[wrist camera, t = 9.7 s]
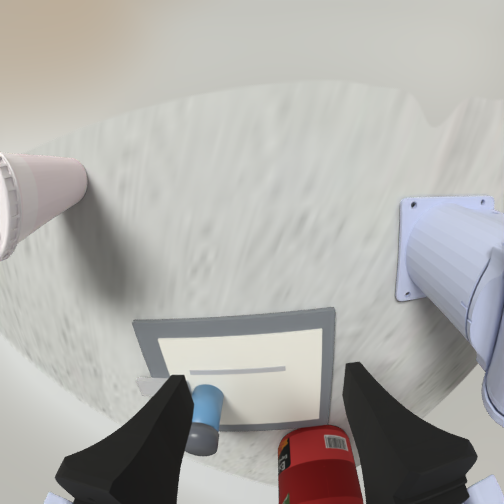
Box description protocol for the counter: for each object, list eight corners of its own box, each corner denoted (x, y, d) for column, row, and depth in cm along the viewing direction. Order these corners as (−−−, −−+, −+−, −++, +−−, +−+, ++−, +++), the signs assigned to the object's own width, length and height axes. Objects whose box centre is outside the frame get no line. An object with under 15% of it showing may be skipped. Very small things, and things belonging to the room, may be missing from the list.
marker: (220, 382, 24) (212, 436, 18) (227, 405, 25) (220, 456, 19) (188, 383, 24) (173, 435, 19) (196, 405, 25) (184, 455, 19)
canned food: (270, 430, 27) (270, 521, 17) (346, 415, 26) (367, 504, 16) (284, 462, 30) (287, 538, 19) (349, 449, 29) (365, 524, 18)
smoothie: (97, 131, 18) (-69, 140, 5) (108, 216, 20) (-37, 304, 7) (36, 151, 18) (-105, 181, 5) (48, 226, 21) (-80, 299, 7)
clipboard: (333, 306, 22) (336, 314, 21) (327, 420, 26) (328, 428, 25) (119, 320, 23) (113, 326, 22) (163, 425, 28) (160, 432, 27)
